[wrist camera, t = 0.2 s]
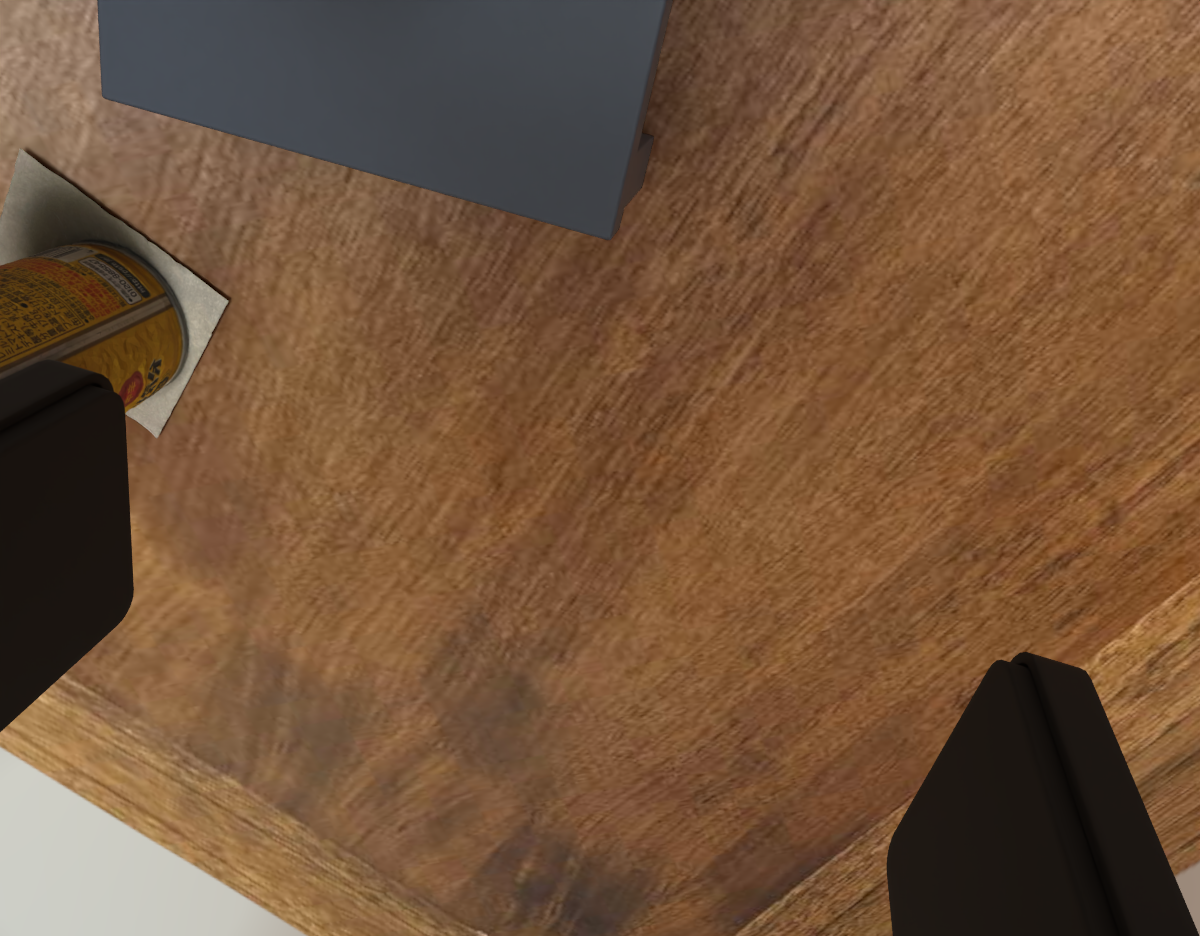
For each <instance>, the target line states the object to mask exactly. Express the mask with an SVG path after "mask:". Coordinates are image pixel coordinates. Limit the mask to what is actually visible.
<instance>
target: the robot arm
mask: <svg viewBox="0 0 1200 936" xmlns="http://www.w3.org/2000/svg"><path fill="white" fill-rule="evenodd" d="M133 591H134V587H133V566H132V546H131V525H130V504H129V484H128V463H127V443H126V422H125V407H124V402H123V400H122V398H121V396H120V395H118V394H117V393H115V392H114V389H113V386H112V384H111V382H110V381H109V379H108V378H107V377H105V376H104V375H102V374H99V373H96V372H93V371H89V370H86V369H83V368H79V367H76V366H73V365H69V364H66V363H63V362H59V361H56V360H49V359H47V360H43V361H40V362H37V363H35V364H33V365H31V366H29V367H26V368H24V369H22V370H20V371H18V372H16V373H14V374H12V375H9V376H7V377H5V378H3V379H1V380H0V732H1V731H2V730H3V729H4V728H5V727H6V726H7V725H9V724H10V723H11V722H12V721H13V720H14V719H15V718H16V717H17V716H18V715H20V714H21V713H22V712H23V711H24V710H25V709H26V708H27V707H28V706H29V705H31V704H32V703H33V702H34V701H35V700H36V699H37V698H38V697H39V696H40V695H41V694H43V693H44V692H45V691H46V690H47V689H48V688H49V687H50V686H51V685H52V684H54V683H55V682H56V681H57V680H58V679H59V678H60V677H61V676H62V675H63V674H65V673H66V672H67V671H68V670H69V669H70V668H71V667H72V666H73V665H74V664H76V663H77V662H78V661H79V660H80V659H81V658H82V657H83V656H84V655H85V654H86V653H88V652H89V651H90V650H91V649H92V648H93V647H94V646H95V645H96V644H97V643H99V642H100V641H101V640H102V639H103V638H104V637H105V636H106V635H107V634H108V633H110V632H111V631H112V630H113V629H114V628H115V627H116V626H117V625H118V624H119V623H120V622H121V621H122V620H123V618H124V617H125V615H126V614H127V612H128V610H129V608H130V605H131V602H132V599H133ZM887 879H888V889H889V900H890V910H891V921H892V931H893V936H1199V934H1198V931H1197V929H1196V927H1195V924H1194V922H1193V920H1192V917H1191V915H1190V912H1189V910H1188V908H1187V905H1186V903H1185V900H1184V898H1183V896H1182V893H1181V891H1180V889H1179V886H1178V884H1177V882H1176V879H1175V877H1174V874H1173V872H1172V870H1171V867H1170V865H1169V863H1168V860H1167V858H1166V855H1165V853H1164V851H1163V848H1162V846H1161V844H1160V841H1159V839H1158V836H1157V834H1156V832H1155V829H1154V827H1153V825H1152V822H1151V820H1150V818H1149V815H1148V813H1147V810H1146V808H1145V806H1144V803H1143V801H1142V799H1141V796H1140V794H1139V791H1138V789H1137V787H1136V784H1135V782H1134V780H1133V777H1132V775H1131V773H1130V770H1129V768H1128V765H1127V763H1126V761H1125V758H1124V756H1123V754H1122V751H1121V749H1120V746H1119V744H1118V742H1117V739H1116V737H1115V735H1114V732H1113V730H1112V728H1111V725H1110V723H1109V720H1108V718H1107V716H1106V713H1105V711H1104V709H1103V706H1102V704H1101V701H1100V699H1099V697H1098V694H1097V692H1096V690H1095V687H1094V685H1093V683H1092V680H1091V678H1090V677H1089V675H1088V674H1087V672H1086V671H1084V670H1083V669H1081V668H1078V667H1075V666H1071V665H1068V664H1065V663H1061V662H1058V661H1055V660H1051V659H1048V658H1045V657H1041V656H1038V655H1035V654H1031V653H1028V652H1023V653H1019V654H1018V655H1017V656H1015V657H1014V658H1013V659H1012V661H1011V662H1007V661H1004V660H997V661H996V662H994V663H993V664H992V665H991V667H990V668H989V670H988V671H987V673H986V675H985V676H984V678H983V680H982V681H981V683H980V685H979V687H978V688H977V690H976V692H975V694H974V695H973V697H972V699H971V701H970V702H969V704H968V706H967V707H966V709H965V711H964V713H963V714H962V716H961V718H960V720H959V721H958V723H957V725H956V727H955V728H954V730H953V732H952V733H951V735H950V737H949V739H948V740H947V742H946V744H945V746H944V747H943V749H942V751H941V753H940V754H939V756H938V758H937V759H936V761H935V763H934V765H933V766H932V768H931V770H930V772H929V773H928V775H927V777H926V779H925V780H924V782H923V784H922V785H921V787H920V789H919V791H918V792H917V794H916V796H915V798H914V799H913V801H912V803H911V804H910V806H909V808H908V810H907V811H906V813H905V815H904V817H903V818H902V820H901V822H900V824H899V825H898V827H897V829H896V830H895V832H894V835H893V837H892V839H891V843H890V846H889V850H888V856H887Z"/></svg>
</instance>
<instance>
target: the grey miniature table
mask: <svg viewBox="0 0 1200 936" xmlns="http://www.w3.org/2000/svg"><path fill="white" fill-rule="evenodd" d="M97 1H98V22H99V43H100V64H101V85H102V96H103V98H105V99H107V100H111V101H115V102H118V103H122V104H125V105H129V106H132V107H136V108H139V109H143V110H147V111H150V112H154V113H157V114H161V115H164V116H168V117H171V118H175V119H179V120H182V121H186V122H189V123H193V124H196V125H200V126H203V127H207V128H211V129H214V130H218V131H221V132H225V133H228V134H232V135H236V136H239V137H243V138H246V139H250V140H253V141H257V142H260V143H264V144H268V145H271V146H275V147H278V148H282V149H285V150H289V151H292V152H296V153H300V154H303V155H307V156H310V157H314V158H317V159H321V160H324V161H328V162H332V163H335V164H339V165H342V166H346V167H349V168H353V169H356V170H360V171H364V172H367V173H371V174H374V175H378V176H381V177H385V178H388V179H392V180H396V181H399V182H403V183H406V184H410V185H413V186H417V187H420V188H424V189H428V190H431V191H435V192H438V193H442V194H445V195H449V196H452V197H456V198H460V199H463V200H467V201H470V202H474V203H477V204H481V205H484V206H488V207H492V208H495V209H499V210H502V211H506V212H509V213H513V214H516V215H520V216H524V217H527V218H531V219H534V220H538V221H541V222H545V223H548V224H552V225H556V226H559V227H563V228H566V229H570V230H573V231H577V232H580V233H584V234H588V235H591V236H595V237H598V238H602V239H605V240H611V239H612V237H613V236H614V235H615V234H616V232H617V231H618V230H619V228H620V223H621V219H622V215H623V211H624V208H625V207H626V205H627V204H628V203H629V202H630V201H631V200H632V199H633V197H634V196H635V195H636V194H637V193H638V192H639V190H640V189H641V188H642V185H643V181H644V177H645V173H646V169H647V165H648V161H649V156H650V152H651V148H652V144H653V140H654V137H653V136H651V135H648V134H644V133H642V130H643V126H644V121H645V117H646V113H647V109H648V104H649V100H650V96H651V92H652V87H653V83H654V79H655V75H656V70H657V66H658V62H659V58H660V53H661V49H662V45H663V41H664V36H665V32H666V28H667V24H668V19H669V15H670V11H671V7H672V2H673V0H97Z"/></svg>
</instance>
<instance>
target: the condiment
mask: <svg viewBox="0 0 1200 936" xmlns="http://www.w3.org/2000/svg"><path fill="white" fill-rule="evenodd" d="M228 302H229V301H228V300H227V299H225V298H224V297H222V296H221V295H220V294H218V293H217V292H216V291H214V290H213V289H212V288H211V287H209V286H208V285H207V284H206V283H204V282H203V281H202V280H200V279H199V278H198V277H197V276H195V275H194V274H193V273H192V272H190V271H189V270H188V269H186V268H185V267H184V266H182V265H181V264H179V263H177V262H175V261H174V260H173V259H172V258H171V257H170V256H169V255H168V254H166V253H165V252H164V251H162V250H161V249H160V248H158V247H157V246H156V245H154V244H153V243H151V242H149V241H147V240H146V239H145V237H143V236H142V235H141V234H139V233H137V232H136V231H134V230H133V229H131V228H130V227H128V226H127V225H126V224H125V223H124V222H122V221H120V220H119V219H117V218H115V217H113V216H112V215H110V214H109V213H107V212H106V211H104V210H103V209H102V208H101V207H100V206H99V205H98V204H96V203H95V202H94V201H93V200H91V199H90V198H88V197H87V196H85V195H84V194H83V193H82V192H80V191H79V190H78V189H77V188H75V187H74V186H73V185H72V184H70V183H69V182H67V181H66V180H64V179H63V178H61V177H60V176H58V175H56V174H55V173H53V172H51V171H50V170H48V169H47V168H45V167H44V166H43V165H41V164H40V163H39V162H38V161H37V160H35V159H34V158H33V157H31V156H30V155H29V154H27V153H26V152H24V151H23V150H22V149H21V148H20V150H19V154H18V158H17V160H16V163H15V173H14V175H13V178H12V181H11V185H10V188H9V192H8V194H7V197H6V200H5V203H4V208H3V212H2V215H1V218H0V380H1V379H3V378H5V377H7V376H9V375H12V374H14V373H16V372H18V371H20V370H22V369H24V368H26V367H29V366H31V365H33V364H35V363H37V362H40V361H43V360H47V359H49V360H56V361H59V362H63V363H66V364H69V365H73V366H76V367H79V368H83V369H86V370H89V371H93V372H96V373H99V374H102V375H104V376H105V377H107V378H108V379H109V381H110V382H111V384H112V386H113V389H114V392H115V393H117V394H118V395H120V396H121V398H122V400H123V402H124V407H125V414H126V415H127V416H129V417H130V418H132V419H134V420H136V421H137V422H138V423H140V424H141V425H143V426H144V427H145V428H146V429H147V430H149V431H150V432H151V433H152V434H153V435H154V436H155V437H156V438H158V436H159V434H160V432H161V431H162V428H163V427H164V425H165V423H166V421H167V419H168V418H169V416H170V414H171V412H172V410H173V408H174V406H175V405H176V403H177V401H178V399H179V397H180V395H181V394H182V391H183V390H184V388H185V386H186V384H187V382H188V380H189V378H190V377H191V375H192V373H193V370H194V368H195V366H196V365H197V363H198V361H199V358H200V357H201V355H202V353H203V351H204V349H205V347H206V345H207V343H208V341H209V339H210V337H211V334H212V331H213V330H214V328H215V326H216V324H217V322H218V320H219V318H220V316H221V314H222V313H223V311H224V309H225V307H226V305H227V303H228Z"/></svg>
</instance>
